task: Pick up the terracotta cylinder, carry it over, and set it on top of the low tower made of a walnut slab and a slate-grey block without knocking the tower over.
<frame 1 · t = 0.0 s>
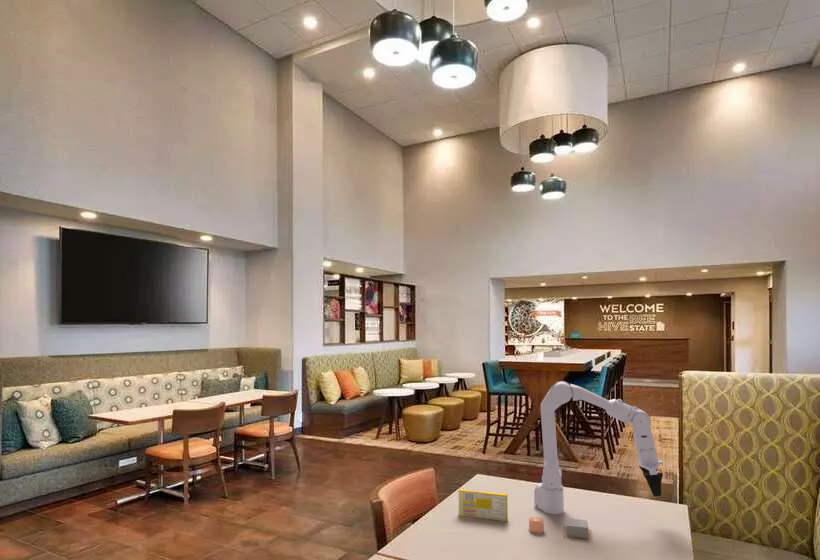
hand: (655, 491, 158), 11 cm above the table, tool pointing down, fingers open, 7 cm apart
candy box: (483, 518, 164), on the table
tower base: (577, 540, 149), on the table, touching tower block
clay cylinder: (536, 534, 151), on the table
tower block: (577, 533, 149), point 1 cm above the table, touching tower base
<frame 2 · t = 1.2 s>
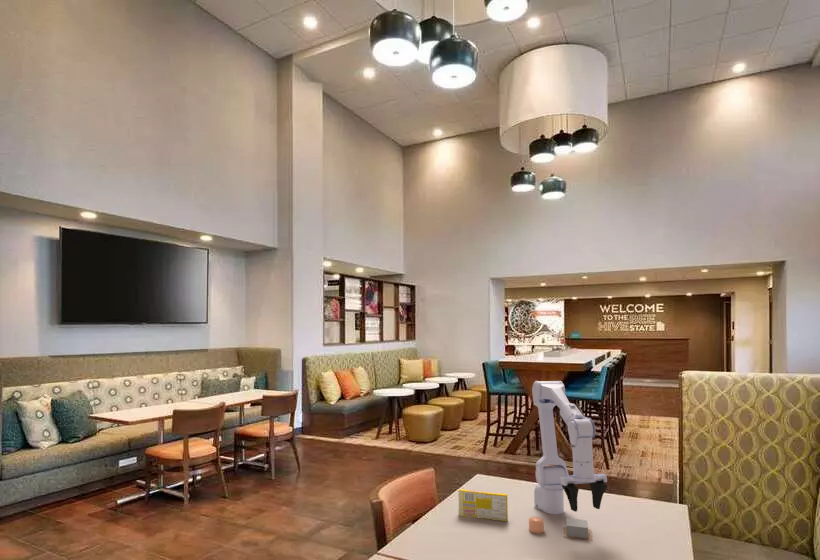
hand: (585, 509, 145), 10 cm above the table, tool pointing down, fingers open, 7 cm apart
nothing on the table moved.
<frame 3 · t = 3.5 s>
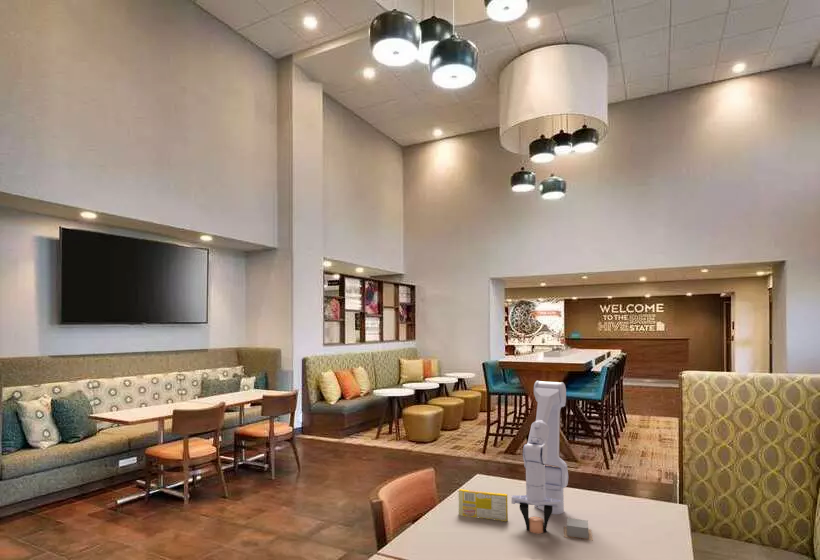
hand: (536, 529, 151), 1 cm above the table, tool pointing down, fingers closed on clay cylinder, 4 cm apart
clay cylinder: (536, 534, 151), on the table, touching gripper
everything else where it was.
when the fingers open (7 cm above the table, at t = 8.0 s): clay cylinder drops 2 cm, point 4 cm above the table.
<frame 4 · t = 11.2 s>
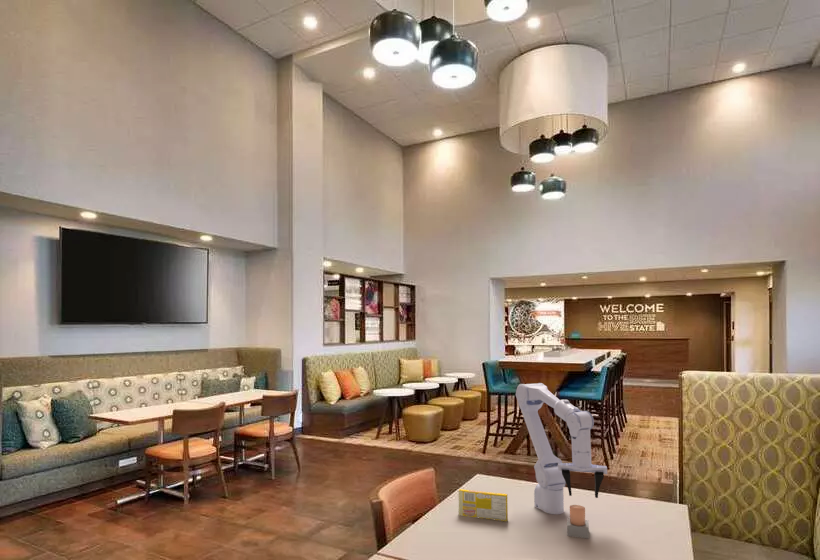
hand: (583, 495, 155), 10 cm above the table, tool pointing down, fingers open, 7 cm apart
tower base: (577, 540, 149), on the table
clay cylinder: (577, 523, 149), point 4 cm above the table
tower block: (578, 533, 149), point 1 cm above the table
everything else where it was.
at the end: clay cylinder 0.3 cm off-centre on the tower block, point 3.1 cm above the tower block's base; tower block tilted 0°; tower block moved 0.7 cm from its start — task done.
